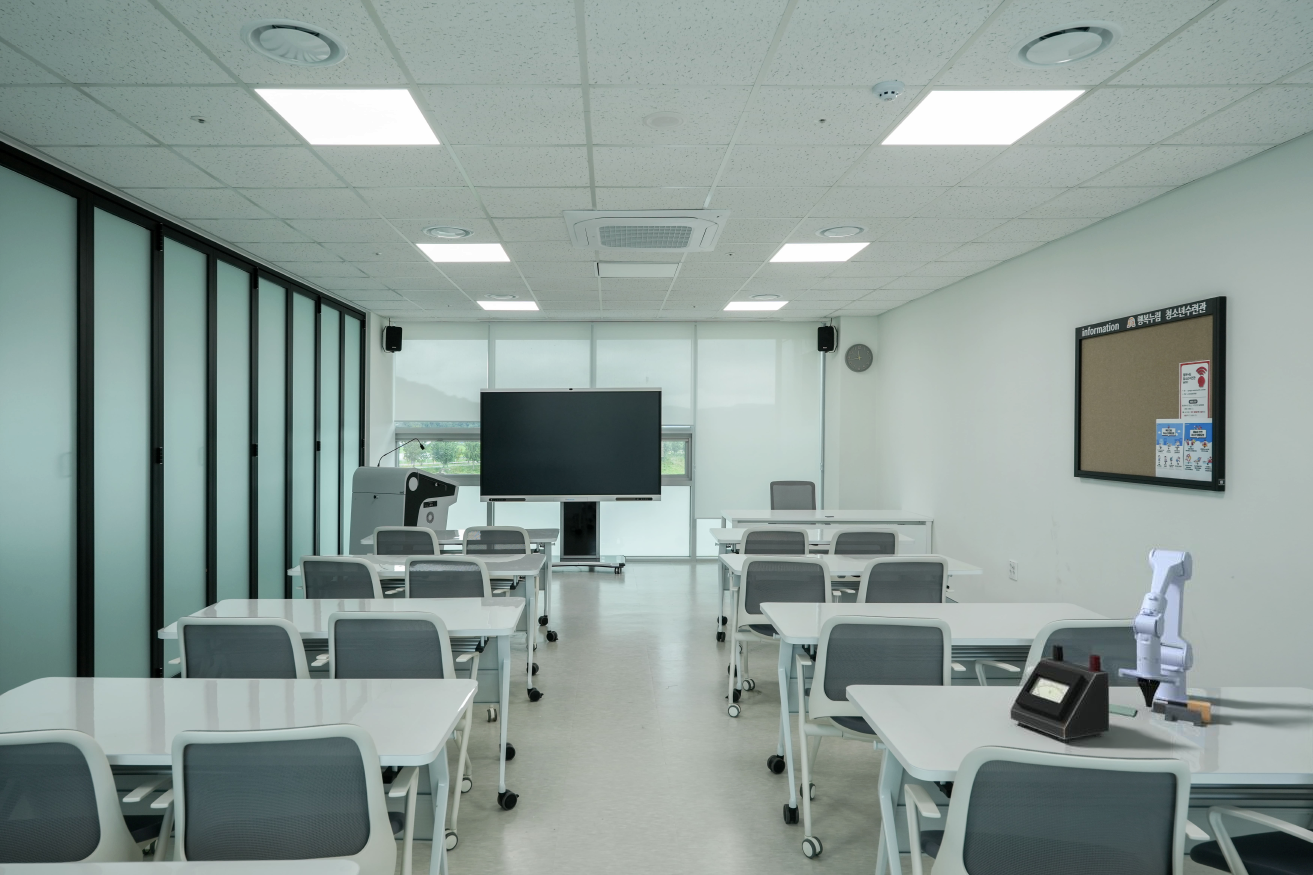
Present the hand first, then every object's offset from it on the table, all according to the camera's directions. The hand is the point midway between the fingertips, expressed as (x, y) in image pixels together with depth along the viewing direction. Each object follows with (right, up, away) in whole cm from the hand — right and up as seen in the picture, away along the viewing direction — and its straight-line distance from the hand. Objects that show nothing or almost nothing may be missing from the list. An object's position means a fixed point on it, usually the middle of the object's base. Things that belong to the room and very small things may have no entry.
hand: (1149, 706), depth 214 cm
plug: (+6, -1, -5) cm, 8 cm away
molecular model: (-30, -1, 0) cm, 30 cm away
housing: (+6, -1, -5) cm, 8 cm away
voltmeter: (-35, 0, -18) cm, 40 cm away
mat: (-9, -1, -1) cm, 9 cm away
